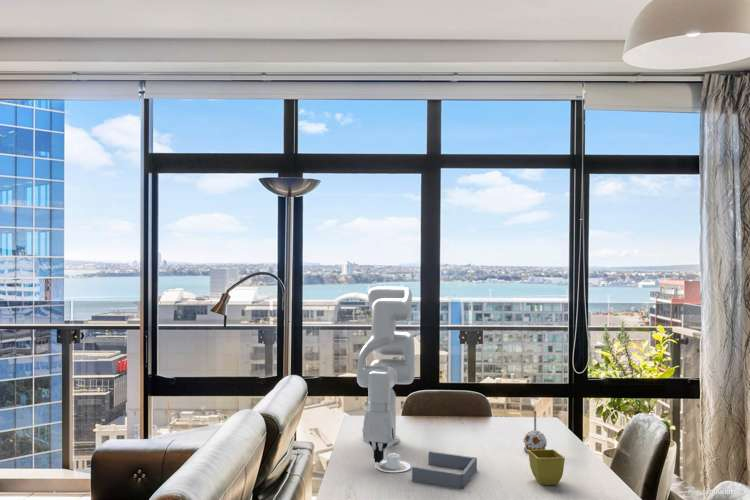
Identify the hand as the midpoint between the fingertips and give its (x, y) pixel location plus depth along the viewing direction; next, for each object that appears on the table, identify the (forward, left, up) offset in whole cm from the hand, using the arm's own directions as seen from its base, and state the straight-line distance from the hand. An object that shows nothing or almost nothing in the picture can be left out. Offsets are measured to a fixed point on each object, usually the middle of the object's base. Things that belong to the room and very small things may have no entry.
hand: (378, 461), depth 189 cm
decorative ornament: (+47, +37, -1) cm, 60 cm away
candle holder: (+5, 0, -2) cm, 6 cm away
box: (+23, 0, -1) cm, 23 cm away
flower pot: (+54, +7, -1) cm, 55 cm away
